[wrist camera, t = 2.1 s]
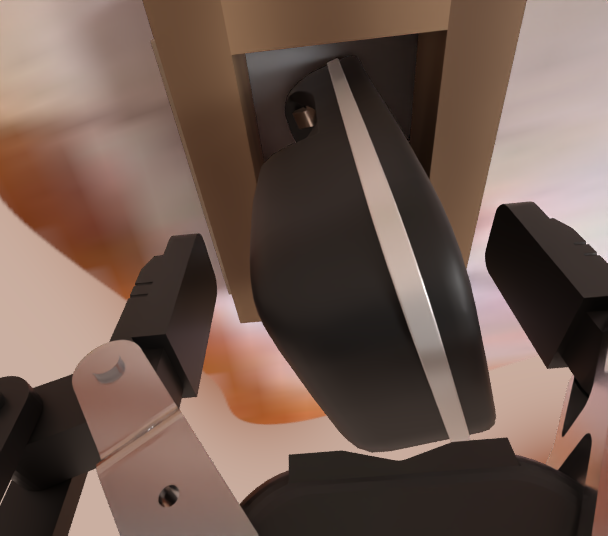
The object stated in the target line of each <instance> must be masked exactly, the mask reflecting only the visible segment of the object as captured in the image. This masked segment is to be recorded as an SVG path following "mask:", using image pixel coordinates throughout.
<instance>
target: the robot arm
mask: <svg viewBox="0 0 608 536" xmlns="http://www.w3.org/2000/svg"><path fill="white" fill-rule="evenodd" d="M485 262H486V267H487V270H488V272H489V274H490V276H491V277H492V279H493V281H494V282H495V284H496V286H497V287H498V289H499V291H500V292H501V294H502V295H503V297H504V299H505V300H506V302H507V304H508V305H509V307H510V309H511V310H512V312H513V313H514V315H515V317H516V318H517V320H518V322H519V323H520V325H521V327H522V328H523V330H524V331H525V333H526V335H527V336H528V338H529V340H530V341H531V343H532V345H533V346H534V348H535V350H536V351H537V353H538V354H539V356H540V358H541V359H542V361H543V363H544V364H545V366H546V367H547V369H549V368H550V369H551V368H563V367H569V369H570V370H571V372H572V373H573V375H572V377H571V378H570V380H569V383H568V387H567V390H566V395H565V399H564V403H563V408H562V412H561V416H560V420H559V425H558V429H557V433H556V438H555V442H554V445H553V448H552V451H551V454H550V456H549V458H548V460H547V463H546V464H543V463H541V462H538V461H535V460H533V459H529V458H526V457H523V456H519V455H515V454H514V451H513V449H512V447H511V445H510V442H509V440H508V438H497V439H484V440H470V441H458V442H451V443H449V444H446V445H443V446H441V447H438V448H435V449H433V450H430V451H427V452H424V453H422V454H419V455H416V456H414V457H411V458H408V459H406V460H402V461H395V460H390V459H384V458H379V457H374V456H368V455H363V454H357V453H352V452H347V451H330V452H317V453H305V454H292V455H289V471H286V472H284V473H281V474H279V475H277V476H275V477H273V478H271V479H269V480H267V481H266V482H264V483H263V484H261V485H260V486H259V487H257V488H256V489H255V490H254V491H252V492H251V493H250V494H249V495H248V496H247V497H246V498H245V499H244V500H243V501H242V502H241V503H240V504H239V503H238V502H237V500H236V498H235V497H234V495H233V493H232V492H231V490H230V489H229V487H228V486H227V484H226V482H225V481H224V479H223V477H222V476H221V474H220V473H219V471H218V470H217V468H216V466H215V465H214V463H213V462H212V460H211V458H210V457H209V455H208V454H207V452H206V451H205V449H204V447H203V446H202V444H201V442H200V441H199V439H198V438H197V437H196V435H195V433H194V431H193V430H192V428H191V426H190V425H189V423H188V422H187V420H186V418H185V417H184V415H183V414H182V412H181V411H180V409H179V407H180V403H181V399H182V398H189V397H197V394H198V389H199V384H200V379H201V374H202V368H203V363H204V358H205V353H206V348H207V343H208V338H209V333H210V328H211V323H212V318H213V312H214V307H215V302H216V297H217V284H216V278H215V274H214V271H213V268H212V265H211V262H210V259H209V255H208V252H207V249H206V246H205V243H204V240H203V238H202V236H201V235H200V234H188V235H178V236H172V237H171V238H170V239H169V242H168V244H167V247H166V250H165V252H164V255H161V256H154V257H153V258H152V259H151V260H150V261H149V262H148V263H147V264H146V265H145V266H144V267H143V268H142V269H141V271H140V274H139V276H138V278H137V281H136V283H135V285H136V286H134V287H133V290H132V292H131V294H130V298H129V299H128V301H127V303H126V306H125V308H124V310H123V312H122V315H121V317H120V319H119V321H118V324H117V326H116V328H115V330H114V333H113V335H112V337H111V339H110V342H108V343H106V344H103V345H101V346H99V347H97V348H95V349H94V350H92V351H91V352H90V353H89V354H87V355H86V356H85V357H84V358H83V359H82V360H81V361H80V363H79V364H78V366H77V367H76V369H75V371H74V373H73V374H71V375H69V376H66V377H63V378H60V379H58V380H55V381H52V382H49V383H46V384H43V385H41V386H38V387H35V388H32V387H31V386H30V385H29V384H28V383H27V382H26V381H25V380H24V379H22V378H20V377H16V376H7V377H2V378H0V502H1V500H2V498H3V495H4V493H5V491H6V489H7V486H8V485H9V482H10V480H12V481H11V484H10V486H9V488H8V490H7V492H6V495H5V496H4V499H3V501H2V503H1V505H0V536H68V533H69V530H70V527H71V524H72V520H73V517H74V514H75V511H76V508H77V504H78V502H79V498H80V495H81V492H82V489H83V486H84V483H85V479H86V476H87V473H88V471H90V470H93V469H95V468H96V470H97V474H98V477H99V480H100V483H101V485H102V488H103V491H104V493H105V496H106V499H107V501H108V504H109V507H110V509H111V512H112V515H113V517H114V520H115V523H116V525H117V528H118V531H119V533H120V536H608V263H607V262H606V261H605V260H604V259H603V258H602V257H601V256H600V255H598V256H597V252H596V251H595V250H594V249H593V248H592V247H591V246H590V245H589V244H587V245H586V241H585V240H584V239H583V238H582V237H581V236H580V235H579V234H578V233H577V232H576V231H575V230H574V229H573V228H571V227H569V226H567V225H565V224H563V223H562V222H560V221H558V220H556V219H554V218H551V219H550V218H549V217H548V216H547V215H546V214H545V213H544V212H543V211H542V210H541V209H540V208H539V207H538V206H537V205H536V204H535V203H534V202H521V203H511V204H502V205H500V206H499V207H498V208H497V210H496V213H495V217H494V221H493V225H492V228H491V232H490V236H489V240H488V244H487V248H486V252H485Z"/></svg>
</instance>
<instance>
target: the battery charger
mask: <svg viewBox="0 0 608 536" xmlns="http://www.w3.org/2000/svg"><path fill="white" fill-rule="evenodd" d="M285 114H286V118H287V121H288V124H289V127H290V130H291V132H292V134H293V137H294V139H295V141H296V143H294V144H291V145H289V146H287V147H286V148H284V149H282V150H280V151H278V152H277V153H275V154H273V155H272V156H271V157H270V158H269V159H268V160H267V161H266V162H265V163H264V164H263V165H262V166H261V170H260V173H259V177H258V182H257V186H256V191H255V195H254V199H253V207H252V219H251V236H250V278H251V287H252V294H253V300H254V303H255V306H256V310H257V313H258V315H259V317H260V319H261V321H262V323H263V325H264V327H265V329H266V330H267V332H268V334H269V335H270V337H271V338H272V340H273V342H274V343H275V345H276V346H277V348H278V349H279V351H280V352H281V354H282V355H283V356H284V358H285V359H286V361H287V362H288V363H289V365H290V366H291V368H292V369H293V370H294V372H295V373H296V375H297V376H298V377H299V379H300V380H301V382H302V383H303V384H304V386H305V387H306V389H307V390H308V391H309V393H310V394H311V396H312V397H313V398H314V400H315V401H316V402H317V403H318V405H319V406H320V407H321V409H322V410H323V411H324V413H325V414H326V415H327V416H328V418H329V419H330V420H331V422H332V423H333V424H334V425H335V427H336V428H337V429H338V431H339V432H340V433H341V434H342V435H343V436H344V437H345V438H346V439H347V440H348V441H350V442H351V443H352V444H353V445H355V446H356V447H357V448H360V449H363V450H366V451H369V452H385V451H393V450H398V449H403V448H408V447H413V446H418V445H422V444H427V443H432V442H437V441H442V440H447V439H450V441H451V442H458V441H467V440H470V435H471V434H475V433H480V432H483V431H486V430H489V429H490V428H491V427H492V426H493V425H494V424H495V419H496V414H495V406H494V401H493V395H492V389H491V383H490V378H489V372H488V366H487V361H486V356H485V351H484V346H483V341H482V336H481V331H480V326H479V321H478V316H477V311H476V306H475V302H474V297H473V293H472V289H471V284H470V280H469V277H468V274H467V270H466V267H465V264H464V260H463V257H462V254H461V251H460V248H459V245H458V242H457V240H456V237H455V234H454V231H453V229H452V226H451V224H450V222H449V220H448V217H447V215H446V213H445V210H444V208H443V206H442V203H441V201H440V199H439V197H438V195H437V193H436V191H435V189H434V187H433V185H432V184H431V182H430V180H429V178H428V176H427V174H426V173H425V171H424V169H423V167H422V165H421V164H420V162H419V160H418V158H417V156H416V155H415V153H414V151H413V149H412V148H411V146H410V144H409V142H408V141H407V139H406V137H405V135H404V134H403V132H402V130H401V129H400V127H399V125H398V123H397V122H396V120H395V118H394V117H393V115H392V113H391V112H390V110H389V109H388V107H387V105H386V104H385V102H384V101H383V99H382V97H381V96H380V94H379V93H378V91H377V90H376V88H375V87H374V85H373V83H372V82H371V80H370V78H369V77H368V75H367V73H366V71H365V69H364V68H363V66H362V64H361V62H360V60H359V59H358V58H357V57H356V56H348V57H345V58H343V59H340V60H338V58H336V59H334V60H332V61H330V62H327V66H325V67H323V68H321V69H319V70H316V71H314V72H312V73H310V74H309V75H308V76H306V77H305V78H304V79H302V80H301V81H300V82H298V83H297V84H296V86H295V87H294V88H293V89H292V90H291V91H290V93H289V95H288V97H287V100H286V104H285Z"/></svg>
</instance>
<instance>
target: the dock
mask: <svg viewBox="0 0 608 536" xmlns="http://www.w3.org/2000/svg"><path fill="white" fill-rule="evenodd" d="M142 1H143V4H144V7H145V10H146V14H147V17H148V20H149V24H150V27H151V30H152V34H153V37H154V39H153V40H152V41H151V44H152V48H153V51H154V54H155V57H156V60H157V64H158V67H159V70H160V73H161V77H162V80H163V83H164V86H165V90H166V93H167V96H168V99H169V102H170V106H171V109H172V112H173V115H174V119H175V122H176V125H177V128H178V131H179V135H180V138H181V141H182V144H183V148H184V151H185V154H186V157H187V160H188V164H189V167H190V170H191V173H192V177H193V180H194V183H195V186H196V189H197V193H198V196H199V199H200V202H201V206H202V209H203V212H204V215H205V219H206V222H207V225H208V228H209V231H210V235H211V238H212V241H213V244H214V248H215V251H216V254H217V257H218V260H219V264H220V267H221V270H222V273H223V277H224V280H225V283H226V286H227V289H228V293H229V294H232V297H233V300H234V303H235V307H236V310H237V313H238V317H239V320H240V323H248V322H260V321H261V319H260V317H259V315H258V313H257V310H256V306H255V303H254V300H253V294H252V287H251V278H250V236H251V219H252V207H253V199H254V195H255V191H256V186H257V182H258V177H259V173H260V170H261V166H262V165H263V164H264V159H263V153H262V148H261V142H260V136H259V131H258V125H257V119H256V114H255V108H254V102H253V96H252V91H251V85H250V79H249V74H248V68H247V62H246V57H245V53H252V52H261V51H269V50H278V49H286V48H295V47H304V46H312V45H321V44H329V43H338V42H346V41H355V40H363V39H372V38H381V37H389V36H398V35H406V34H415V33H418V44H417V57H416V69H415V82H414V94H413V107H412V120H411V132H410V146H411V148H412V149H413V151H414V153H415V155H416V156H417V158H418V160H419V162H420V164H421V165H422V167H423V169H424V171H425V173H426V174H427V176H428V178H429V180H430V182H431V184H432V185H433V187H434V189H435V191H436V193H437V195H438V197H439V199H440V201H441V203H442V206H443V208H444V210H445V213H446V215H447V217H448V220H449V222H450V224H451V226H452V229H453V231H454V234H455V237H456V240H457V242H458V245H459V248H460V251H461V254H462V257H463V260H464V264H465V267H466V268H467V264H468V260H469V255H470V251H471V246H472V242H473V237H474V233H475V228H476V224H477V220H478V215H479V211H480V206H481V202H482V197H483V193H484V188H485V184H486V179H487V175H488V171H489V166H490V162H491V157H492V153H493V148H494V144H495V139H496V135H497V131H498V126H499V122H500V117H501V113H502V108H503V104H504V99H505V95H506V90H507V86H508V82H509V77H510V73H511V68H512V64H513V59H514V55H515V50H516V46H517V42H518V37H519V33H520V28H521V24H522V19H523V15H524V10H525V6H526V1H527V0H142Z"/></svg>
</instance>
